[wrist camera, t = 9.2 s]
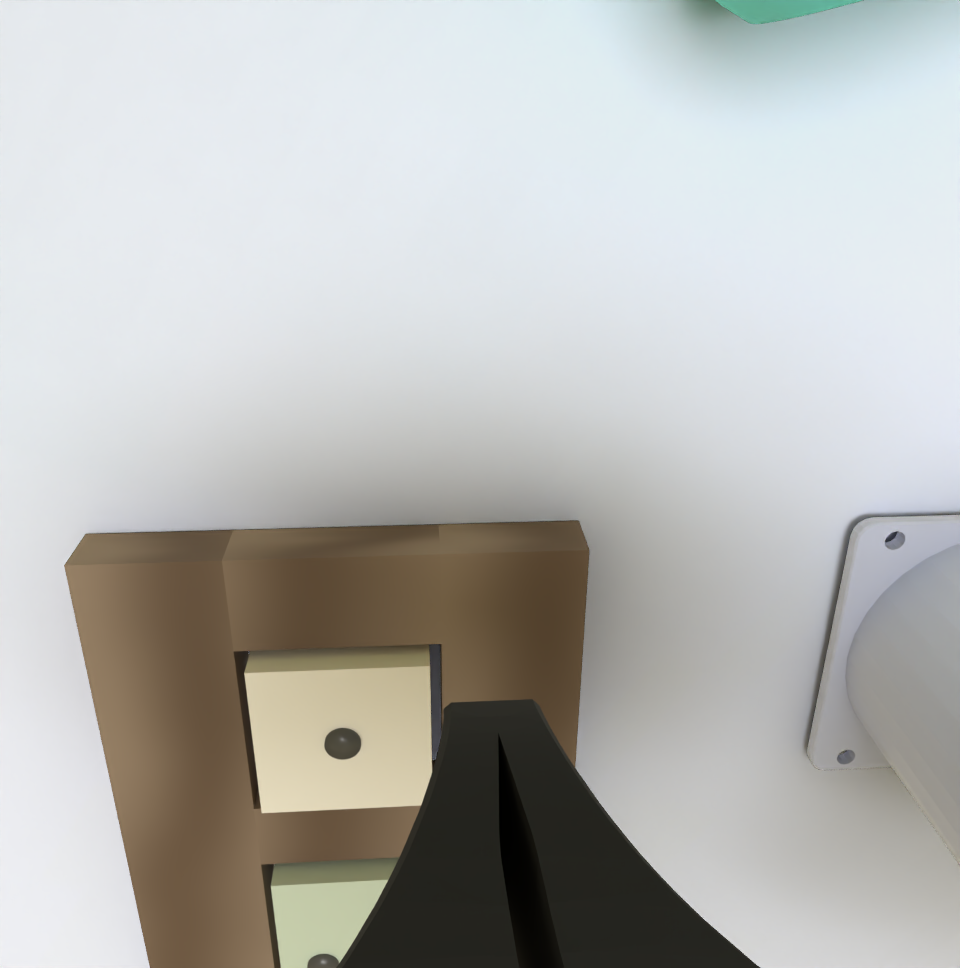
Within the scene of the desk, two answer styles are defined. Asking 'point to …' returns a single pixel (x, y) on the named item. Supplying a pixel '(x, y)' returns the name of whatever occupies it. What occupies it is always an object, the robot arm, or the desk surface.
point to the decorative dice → (778, 8)
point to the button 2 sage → (324, 907)
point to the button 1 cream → (340, 727)
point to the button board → (281, 626)
